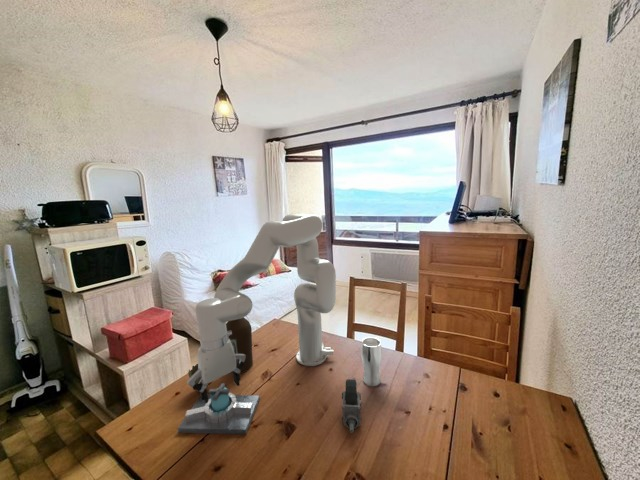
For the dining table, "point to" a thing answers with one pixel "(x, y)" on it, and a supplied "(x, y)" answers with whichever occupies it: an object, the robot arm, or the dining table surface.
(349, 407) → the caster wheel
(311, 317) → the robot arm
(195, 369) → the cup
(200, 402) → the coupling base
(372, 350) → the beer glass
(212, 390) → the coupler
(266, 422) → the dining table surface
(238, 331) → the olive oil
